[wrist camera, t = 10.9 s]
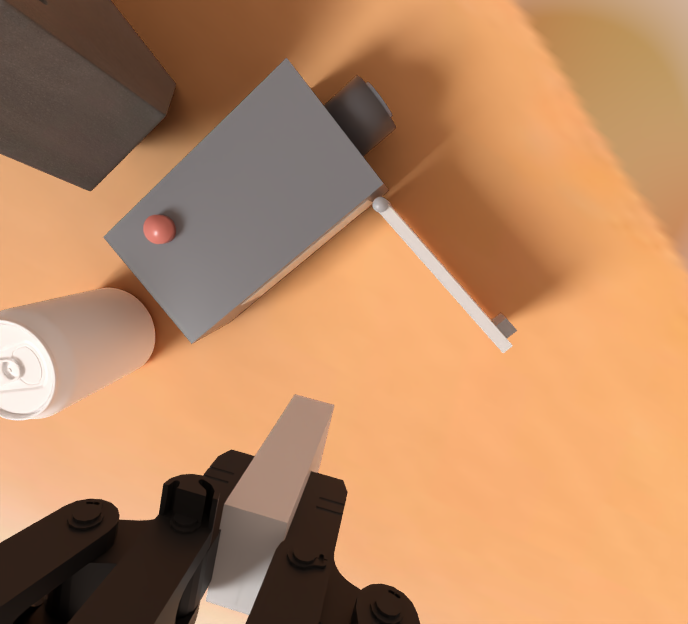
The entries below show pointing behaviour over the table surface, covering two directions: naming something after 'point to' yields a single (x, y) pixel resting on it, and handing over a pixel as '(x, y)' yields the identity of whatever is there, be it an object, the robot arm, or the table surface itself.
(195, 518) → the robot arm
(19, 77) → the grey bevelled block
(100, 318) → the beverage can
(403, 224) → the door
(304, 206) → the camcorder
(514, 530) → the table surface
